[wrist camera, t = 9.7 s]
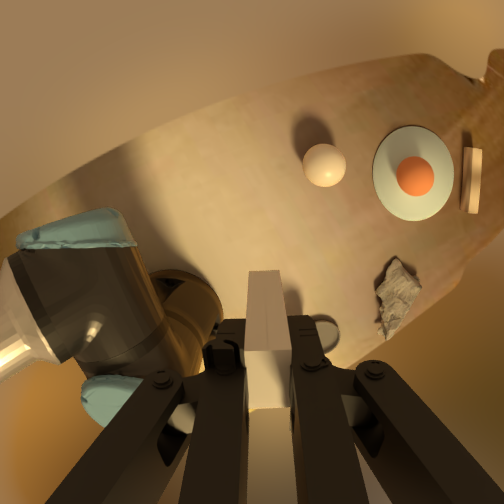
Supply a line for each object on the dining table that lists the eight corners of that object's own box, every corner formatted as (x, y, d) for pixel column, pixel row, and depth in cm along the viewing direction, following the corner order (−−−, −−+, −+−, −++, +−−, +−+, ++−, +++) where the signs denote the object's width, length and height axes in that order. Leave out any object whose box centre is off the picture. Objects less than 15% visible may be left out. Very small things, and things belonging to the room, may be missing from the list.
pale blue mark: (405, 239, 44) (406, 239, 44) (353, 164, 41) (353, 164, 41) (466, 184, 41) (466, 184, 40) (421, 108, 37) (421, 108, 37)
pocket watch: (342, 345, 51) (355, 384, 41) (293, 358, 52) (299, 399, 42) (333, 305, 48) (348, 342, 39) (281, 319, 49) (285, 359, 40)
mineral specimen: (353, 316, 50) (358, 332, 46) (391, 255, 45) (400, 267, 41) (383, 328, 50) (390, 343, 46) (422, 270, 46) (432, 283, 42)
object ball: (416, 207, 37) (414, 201, 42) (444, 179, 34) (439, 176, 39) (387, 176, 38) (388, 173, 42) (415, 147, 35) (413, 148, 39)
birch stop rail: (468, 209, 42) (477, 213, 40) (459, 209, 42) (468, 213, 40) (473, 148, 39) (482, 149, 36) (463, 146, 39) (472, 147, 36)
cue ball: (328, 196, 37) (331, 194, 42) (354, 158, 35) (354, 161, 40) (290, 170, 37) (298, 171, 42) (315, 132, 35) (320, 138, 40)
